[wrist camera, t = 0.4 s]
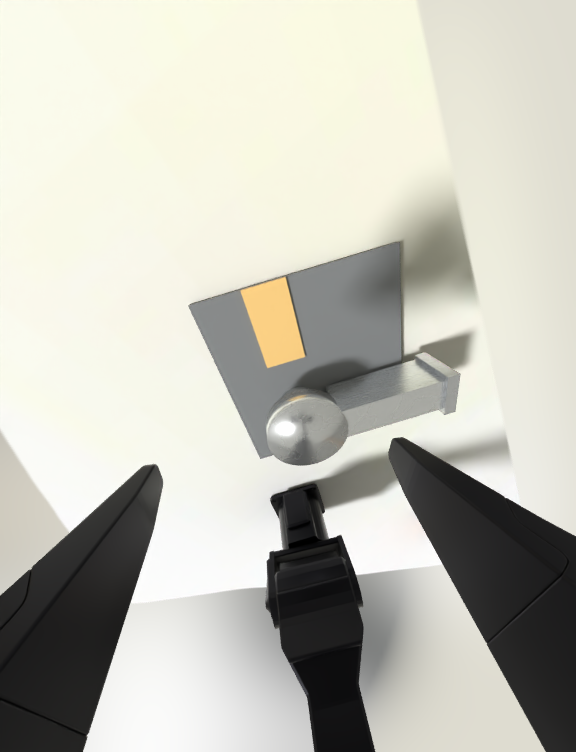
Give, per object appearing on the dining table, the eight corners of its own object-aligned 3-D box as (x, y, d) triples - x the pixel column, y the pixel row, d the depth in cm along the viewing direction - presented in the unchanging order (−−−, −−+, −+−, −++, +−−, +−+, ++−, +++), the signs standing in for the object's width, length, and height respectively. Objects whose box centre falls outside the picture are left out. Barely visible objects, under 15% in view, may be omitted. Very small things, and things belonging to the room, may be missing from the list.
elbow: (275, 441, 25) (280, 475, 22) (254, 389, 22) (255, 419, 18) (423, 397, 25) (453, 424, 22) (425, 337, 22) (462, 357, 18)
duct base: (399, 413, 28) (414, 430, 25) (260, 454, 28) (261, 476, 25) (395, 242, 19) (419, 241, 16) (190, 304, 19) (180, 313, 16)
